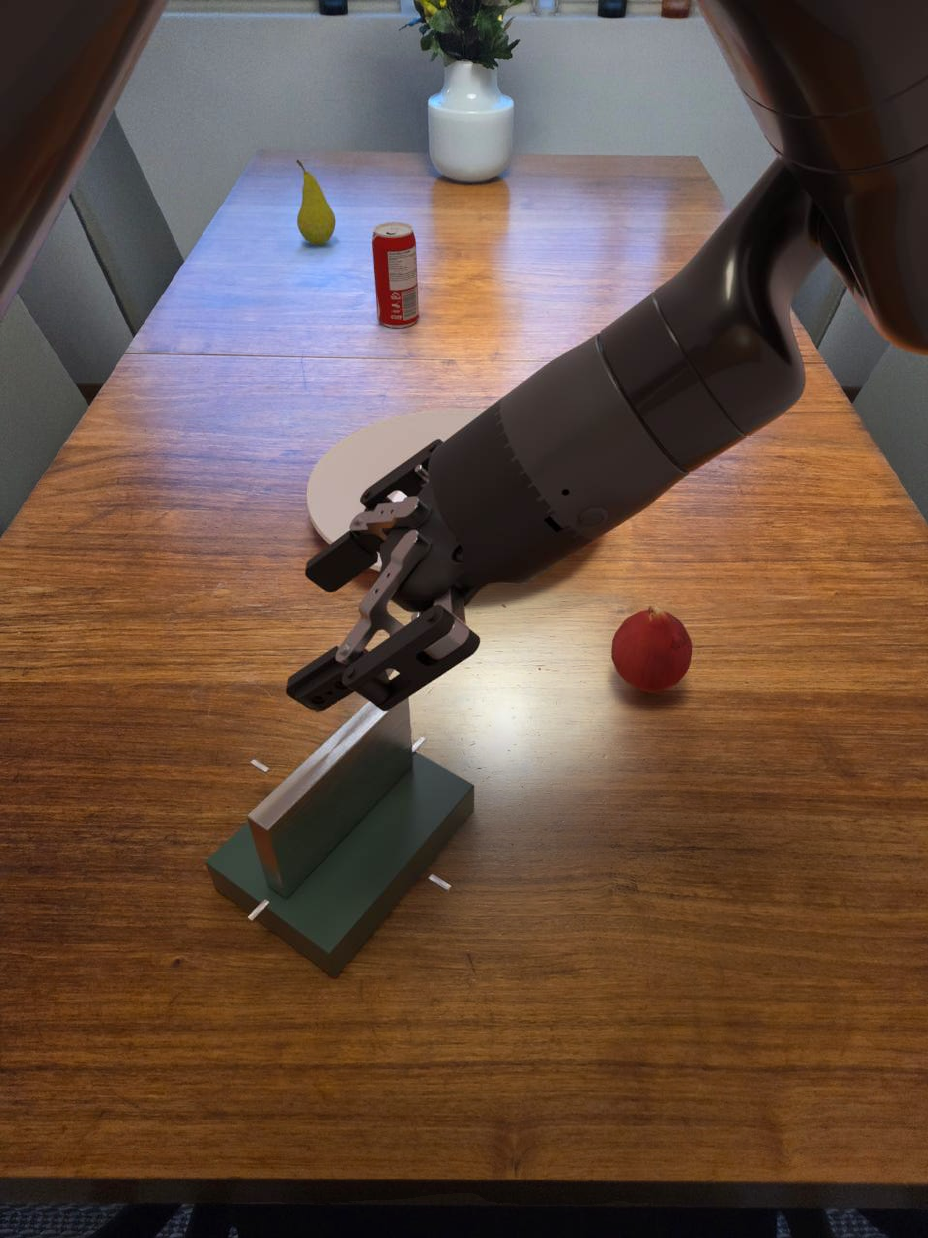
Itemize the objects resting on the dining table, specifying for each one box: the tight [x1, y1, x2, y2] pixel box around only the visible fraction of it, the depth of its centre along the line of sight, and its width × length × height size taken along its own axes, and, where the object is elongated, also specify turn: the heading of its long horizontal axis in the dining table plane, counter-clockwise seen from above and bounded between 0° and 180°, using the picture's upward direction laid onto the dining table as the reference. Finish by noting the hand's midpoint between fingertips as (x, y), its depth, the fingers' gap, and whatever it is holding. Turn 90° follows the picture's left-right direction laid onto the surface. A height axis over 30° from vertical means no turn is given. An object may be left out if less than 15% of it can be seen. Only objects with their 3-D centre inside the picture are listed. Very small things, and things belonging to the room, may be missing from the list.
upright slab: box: [246, 697, 413, 898], centre depth 52 cm, size 12×2×7 cm, turn 144°
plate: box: [305, 408, 486, 573], centre depth 81 cm, size 28×28×9 cm
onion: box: [610, 605, 693, 693], centre depth 64 cm, size 6×6×8 cm
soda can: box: [371, 221, 420, 329], centre depth 112 cm, size 6×6×12 cm
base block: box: [205, 736, 475, 979], centre depth 55 cm, size 16×16×3 cm
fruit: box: [296, 159, 336, 246], centre depth 133 cm, size 6×6×12 cm
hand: (308, 635), depth 46 cm, fingers open, 8 cm apart
